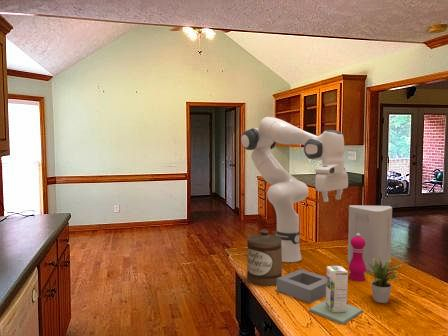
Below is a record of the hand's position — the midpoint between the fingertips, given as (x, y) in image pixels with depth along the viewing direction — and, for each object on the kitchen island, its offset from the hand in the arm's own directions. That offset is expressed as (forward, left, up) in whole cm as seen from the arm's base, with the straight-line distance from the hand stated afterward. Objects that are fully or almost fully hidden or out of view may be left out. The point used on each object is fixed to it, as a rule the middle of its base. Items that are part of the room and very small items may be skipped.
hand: (332, 200), depth 161 cm
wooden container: (-18, -23, -34) cm, 45 cm away
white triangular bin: (+5, +27, -34) cm, 44 cm away
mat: (+19, -27, -34) cm, 47 cm away
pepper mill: (+8, +8, -34) cm, 36 cm away
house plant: (+26, -7, -34) cm, 44 cm away
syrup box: (+19, -27, -33) cm, 47 cm away
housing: (+1, -20, -34) cm, 39 cm away
